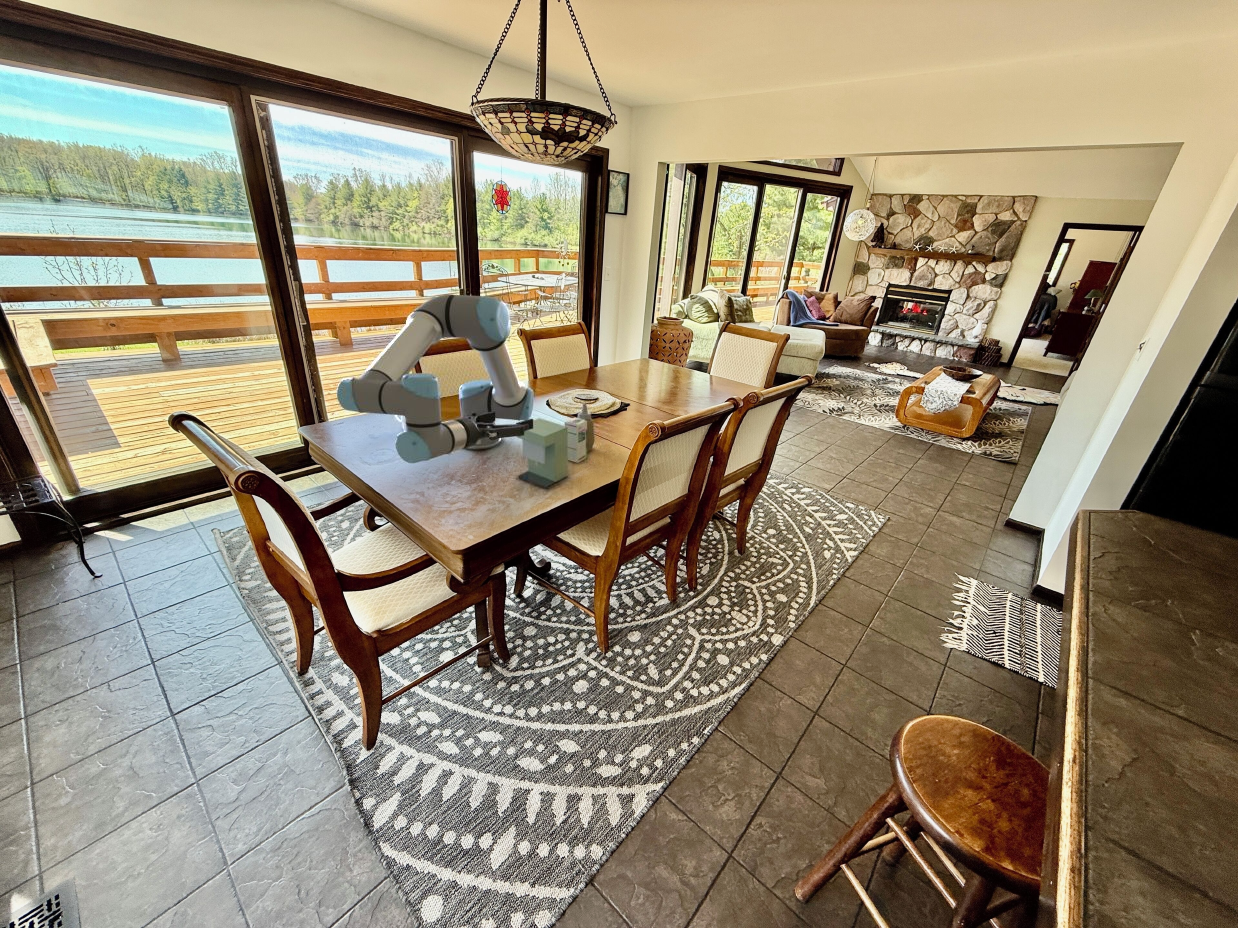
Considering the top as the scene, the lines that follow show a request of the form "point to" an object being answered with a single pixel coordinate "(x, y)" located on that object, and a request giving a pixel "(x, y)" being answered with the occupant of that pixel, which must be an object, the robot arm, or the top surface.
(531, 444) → the push plate
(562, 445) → the dispenser
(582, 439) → the syrup box
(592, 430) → the squeeze bottle
